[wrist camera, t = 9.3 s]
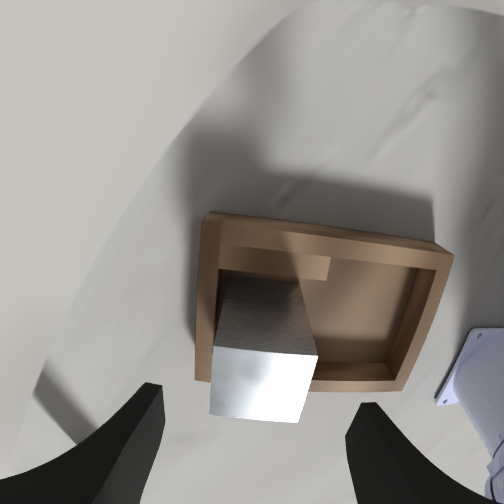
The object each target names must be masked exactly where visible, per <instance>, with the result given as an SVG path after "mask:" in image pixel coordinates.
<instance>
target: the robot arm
mask: <svg viewBox="0 0 504 504" xmlns="http://www.w3.org/2000/svg"><path fill="white" fill-rule="evenodd" d="M455 403H460V404H461V406H462V408H463V409H464V411H465V413H466V414H467V416H468V417H469V419H470V421H471V423H472V424H473V426H474V428H475V429H476V431H477V433H478V434H479V436H480V438H481V440H482V441H483V443H484V445H485V447H486V449H487V450H488V452H489V454H490V456H491V458H492V461H491V462H490V463H489V464H488V465H487V469H488V471H489V473H490V476H489V477H488V479H487V481H486V484H485V497H484V496H481V495H479V494H477V493H475V492H473V491H471V490H470V489H468V488H466V487H464V486H463V485H461V484H460V483H458V482H456V481H455V480H453V479H452V478H450V477H449V476H448V475H446V474H445V473H444V472H442V471H441V470H440V469H439V468H437V467H436V466H435V465H434V464H433V463H431V462H430V461H429V460H428V459H427V458H426V457H425V456H424V455H423V454H422V453H421V452H420V451H419V450H418V449H417V448H416V447H415V446H414V445H413V444H412V443H411V442H410V441H409V440H408V439H407V438H406V437H405V435H404V434H403V433H402V432H401V431H400V430H399V429H398V428H397V426H396V425H395V424H394V423H393V422H392V420H391V419H390V418H389V417H388V416H387V415H386V413H385V412H384V411H383V410H382V409H381V407H380V406H379V405H378V404H377V403H376V402H369V403H361V405H360V407H359V409H358V411H357V413H356V415H355V417H354V419H353V421H352V423H351V425H350V427H349V429H348V431H347V433H346V435H345V441H346V452H347V460H348V464H349V469H350V473H351V477H352V481H353V486H354V490H355V494H356V499H357V503H358V504H504V328H475V329H472V330H471V331H470V333H469V335H468V337H467V340H466V342H465V344H464V346H463V348H462V350H461V353H460V355H459V357H458V359H457V361H456V363H455V365H454V367H453V369H452V371H451V373H450V375H449V377H448V378H447V380H446V382H445V384H444V386H443V388H442V389H441V391H440V393H439V395H438V397H437V398H436V400H435V404H436V405H437V406H441V405H448V404H455ZM164 425H165V412H164V401H163V390H162V385H157V384H152V383H147V382H146V383H144V384H143V385H142V386H141V387H140V388H139V389H138V390H137V392H136V393H135V394H134V395H133V396H132V397H131V398H130V399H129V400H128V401H127V402H126V403H125V404H124V405H123V406H122V407H121V408H120V409H119V410H118V411H117V412H116V413H115V414H114V415H113V416H112V417H111V418H110V419H109V420H108V421H107V422H106V423H104V424H103V425H102V426H101V427H100V428H99V429H97V430H96V431H95V432H94V433H93V434H91V435H90V436H89V437H87V438H86V439H85V440H83V441H82V442H81V443H79V444H78V445H76V446H75V447H73V448H72V449H70V450H69V451H67V452H65V453H64V454H62V455H60V456H59V457H57V458H55V459H53V460H51V461H49V462H47V463H45V464H43V465H40V466H38V467H36V468H34V469H31V470H29V471H26V472H24V473H21V474H18V475H14V476H11V477H8V478H4V479H1V480H0V504H140V499H141V496H142V493H143V489H144V487H145V484H146V481H147V479H148V476H149V473H150V470H151V468H152V465H153V462H154V460H155V457H156V454H157V452H158V449H159V446H160V443H161V439H162V434H163V430H164Z"/></svg>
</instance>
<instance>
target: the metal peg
mask: <svg viewBox="0 0 504 504" xmlns="http://www.w3.org/2000/svg"><path fill="white" fill-rule="evenodd" d="M317 358H318V354H317V350H316V346H315V342H314V338H313V333H312V329H311V325H310V321H309V318H308V314H307V310H306V306H305V302H304V298H303V294H302V290H301V287H300V283H299V282H293V281H284V280H275V279H266V278H258V277H249V276H241V275H232V274H230V277H229V281H228V285H227V289H226V294H225V298H224V302H223V306H222V311H221V315H220V319H219V324H218V328H217V332H216V337H215V341H214V345H213V359H212V375H211V393H210V412H209V414H211V415H218V416H226V417H235V418H244V419H255V420H267V421H283V422H298V419H299V416H300V413H301V410H302V407H303V404H304V401H305V398H306V394H307V391H308V388H309V385H310V382H311V378H312V375H313V372H314V368H315V365H316V362H317Z"/></svg>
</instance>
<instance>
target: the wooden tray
mask: <svg viewBox="0 0 504 504" xmlns="http://www.w3.org/2000/svg"><path fill="white" fill-rule="evenodd" d="M453 259H454V255H453V254H452V253H450V252H449V251H447V250H446V249H444V248H443V247H441V246H439V245H438V244H436V243H433V242H428V241H422V240H416V239H409V238H403V237H397V236H391V235H384V234H378V233H371V232H364V231H358V230H351V229H344V228H337V227H330V226H323V225H315V224H308V223H300V222H293V221H285V220H277V219H269V218H260V217H252V216H244V215H235V214H226V213H217V212H209V213H208V214H207V216H206V217H205V218H204V219H203V221H202V225H201V239H200V254H199V271H198V290H197V312H196V341H195V380H198V381H204V382H211V375H212V359H213V345H214V341H215V337H216V332H217V328H218V324H219V319H220V315H221V311H222V306H223V302H224V298H225V294H226V289H227V285H228V281H229V277H230V274H232V275H241V276H249V277H258V278H266V279H275V280H284V281H293V282H299V283H300V287H301V290H302V294H303V298H304V302H305V306H306V310H307V314H308V318H309V321H310V325H311V329H312V333H313V338H314V342H315V346H316V350H317V354H318V358H317V362H316V365H315V368H314V372H313V375H312V378H311V382H310V385H309V388H308V391H313V392H389V391H402V390H403V388H404V386H405V384H406V382H407V380H408V377H409V375H410V373H411V371H412V369H413V367H414V365H415V362H416V360H417V358H418V356H419V353H420V351H421V349H422V347H423V344H424V342H425V339H426V337H427V334H428V332H429V329H430V327H431V324H432V322H433V319H434V316H435V314H436V311H437V308H438V306H439V303H440V300H441V297H442V294H443V291H444V288H445V285H446V282H447V279H448V276H449V272H450V269H451V266H452V262H453Z"/></svg>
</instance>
